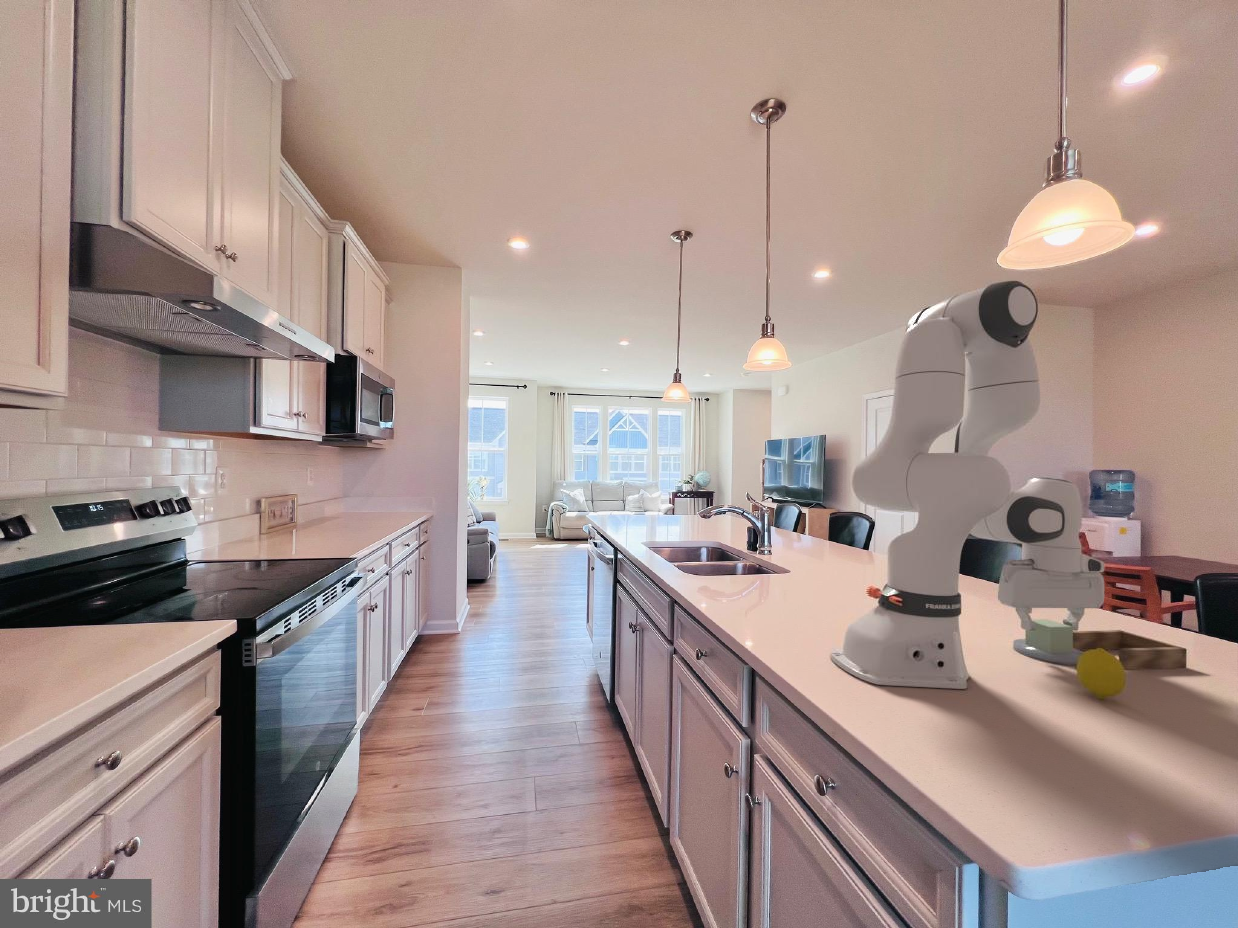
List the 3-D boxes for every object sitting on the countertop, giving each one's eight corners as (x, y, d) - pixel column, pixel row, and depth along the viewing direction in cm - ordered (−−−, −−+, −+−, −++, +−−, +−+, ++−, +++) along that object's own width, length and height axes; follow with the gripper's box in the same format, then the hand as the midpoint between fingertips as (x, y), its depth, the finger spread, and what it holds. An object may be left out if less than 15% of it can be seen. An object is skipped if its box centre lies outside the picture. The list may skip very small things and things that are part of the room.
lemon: (1103, 692, 80) (1104, 643, 80) (1136, 708, 74) (1136, 655, 74) (1067, 689, 80) (1067, 641, 80) (1096, 705, 75) (1097, 653, 75)
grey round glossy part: (1053, 666, 90) (1053, 659, 90) (999, 645, 101) (999, 639, 101) (1103, 664, 92) (1103, 658, 92) (1045, 643, 103) (1045, 638, 103)
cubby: (1125, 669, 90) (1125, 650, 90) (1064, 648, 100) (1064, 631, 100) (1186, 667, 91) (1186, 648, 92) (1120, 646, 102) (1120, 630, 102)
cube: (1050, 653, 94) (1050, 627, 94) (1025, 644, 99) (1025, 619, 99) (1072, 652, 94) (1072, 626, 95) (1046, 643, 99) (1047, 619, 99)
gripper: (1018, 561, 92) (1017, 634, 92) (1112, 563, 95) (1111, 634, 94) (989, 556, 98) (988, 624, 98) (1078, 557, 101) (1077, 624, 100)
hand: (1049, 629), depth 96 cm, fingers open, 8 cm apart
